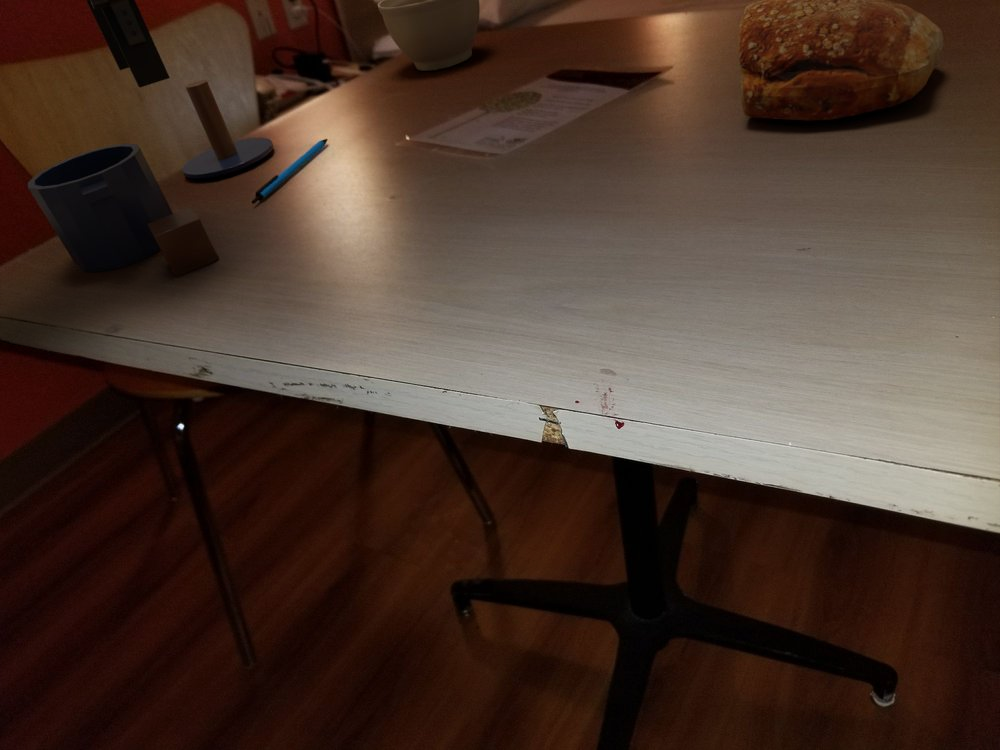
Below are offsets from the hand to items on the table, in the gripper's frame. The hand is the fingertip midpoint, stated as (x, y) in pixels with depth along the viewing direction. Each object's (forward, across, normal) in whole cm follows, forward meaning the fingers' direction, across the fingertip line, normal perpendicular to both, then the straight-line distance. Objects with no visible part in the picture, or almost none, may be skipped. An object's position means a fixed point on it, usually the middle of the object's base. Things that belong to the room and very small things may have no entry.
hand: (143, 74), depth 70 cm
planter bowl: (+17, +35, -48) cm, 61 cm away
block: (+17, -6, +4) cm, 18 cm away
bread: (+17, -31, -59) cm, 69 cm away
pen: (+17, +9, -12) cm, 23 cm away
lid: (+16, +23, -7) cm, 29 cm away
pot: (+17, +6, +9) cm, 20 cm away
